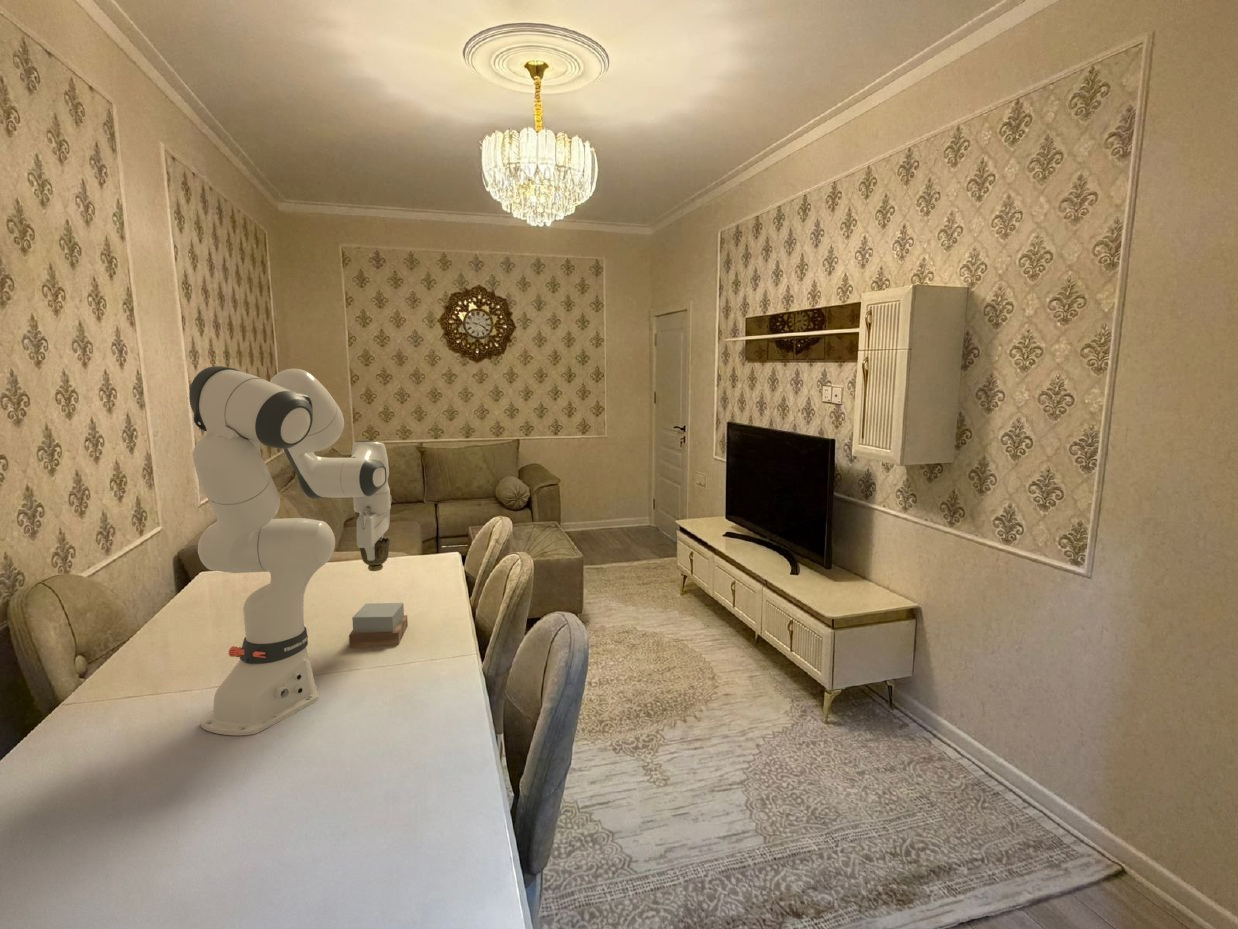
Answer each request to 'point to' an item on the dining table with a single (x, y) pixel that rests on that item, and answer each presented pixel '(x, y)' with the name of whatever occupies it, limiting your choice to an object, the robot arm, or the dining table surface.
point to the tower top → (378, 617)
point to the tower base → (378, 636)
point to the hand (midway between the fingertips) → (375, 555)
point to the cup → (377, 555)
